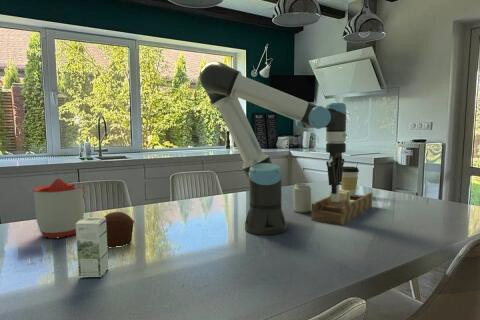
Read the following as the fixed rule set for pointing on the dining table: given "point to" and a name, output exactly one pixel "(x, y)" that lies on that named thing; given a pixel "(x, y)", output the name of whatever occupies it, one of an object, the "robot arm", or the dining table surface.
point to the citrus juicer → (58, 208)
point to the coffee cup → (350, 179)
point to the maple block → (342, 199)
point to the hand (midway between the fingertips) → (335, 201)
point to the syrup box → (92, 246)
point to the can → (302, 198)
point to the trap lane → (340, 209)
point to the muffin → (118, 229)
